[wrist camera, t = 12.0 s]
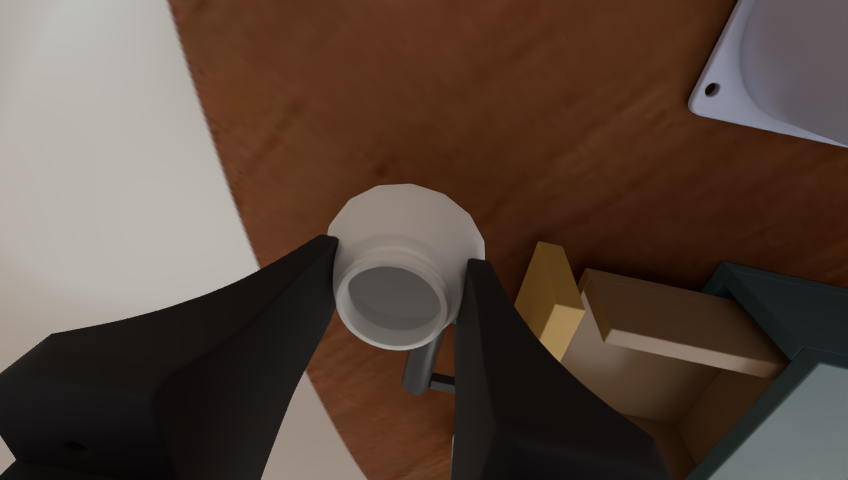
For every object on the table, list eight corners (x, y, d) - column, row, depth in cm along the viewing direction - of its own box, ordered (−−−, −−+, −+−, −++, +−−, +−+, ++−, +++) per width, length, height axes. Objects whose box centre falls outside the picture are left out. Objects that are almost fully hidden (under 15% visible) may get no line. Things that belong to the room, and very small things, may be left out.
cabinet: (620, 411, 26) (661, 526, 20) (721, 260, 20) (819, 362, 14) (816, 454, 26) (914, 582, 20) (976, 316, 20) (1177, 440, 14)
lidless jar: (317, 183, 13) (348, 311, 15) (277, 229, 10) (322, 374, 12) (481, 174, 12) (487, 310, 14) (483, 220, 9) (489, 376, 12)
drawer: (403, 368, 25) (388, 441, 21) (437, 218, 19) (426, 276, 15) (669, 427, 25) (708, 512, 21) (775, 292, 19) (856, 369, 15)
